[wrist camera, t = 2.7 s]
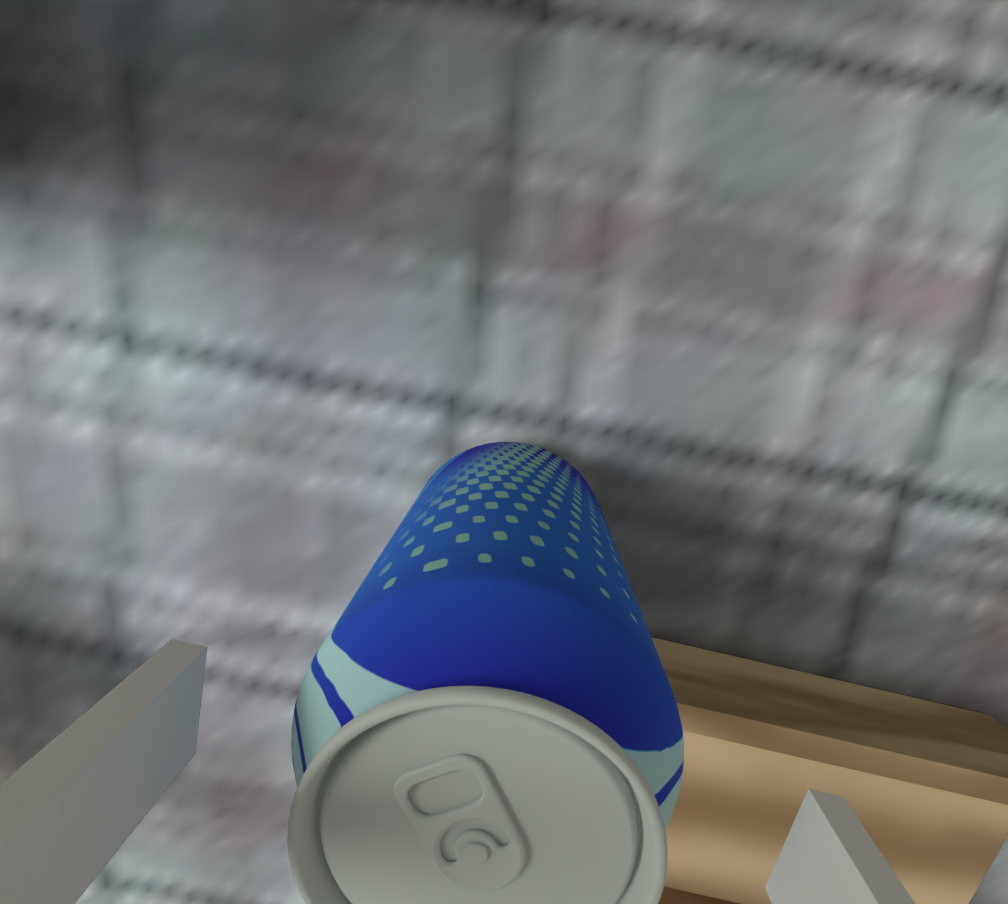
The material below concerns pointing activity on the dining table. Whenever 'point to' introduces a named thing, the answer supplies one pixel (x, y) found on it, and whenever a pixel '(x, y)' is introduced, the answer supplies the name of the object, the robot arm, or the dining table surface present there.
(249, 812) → the dining table surface
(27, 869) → the robot arm
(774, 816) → the cleat board
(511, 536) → the beer can
